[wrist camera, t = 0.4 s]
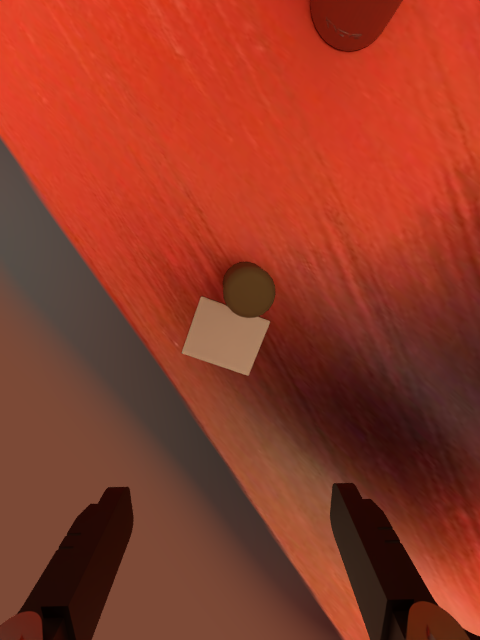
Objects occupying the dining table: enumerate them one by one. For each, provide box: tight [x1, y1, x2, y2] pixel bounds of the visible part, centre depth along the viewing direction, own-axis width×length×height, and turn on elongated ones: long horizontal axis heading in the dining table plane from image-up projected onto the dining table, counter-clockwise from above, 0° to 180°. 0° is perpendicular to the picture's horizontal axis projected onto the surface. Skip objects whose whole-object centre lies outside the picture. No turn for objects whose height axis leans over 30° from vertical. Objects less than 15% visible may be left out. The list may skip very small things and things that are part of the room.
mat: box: [182, 296, 270, 376], centre depth 37 cm, size 8×10×1 cm
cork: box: [223, 262, 275, 318], centre depth 30 cm, size 6×6×11 cm
